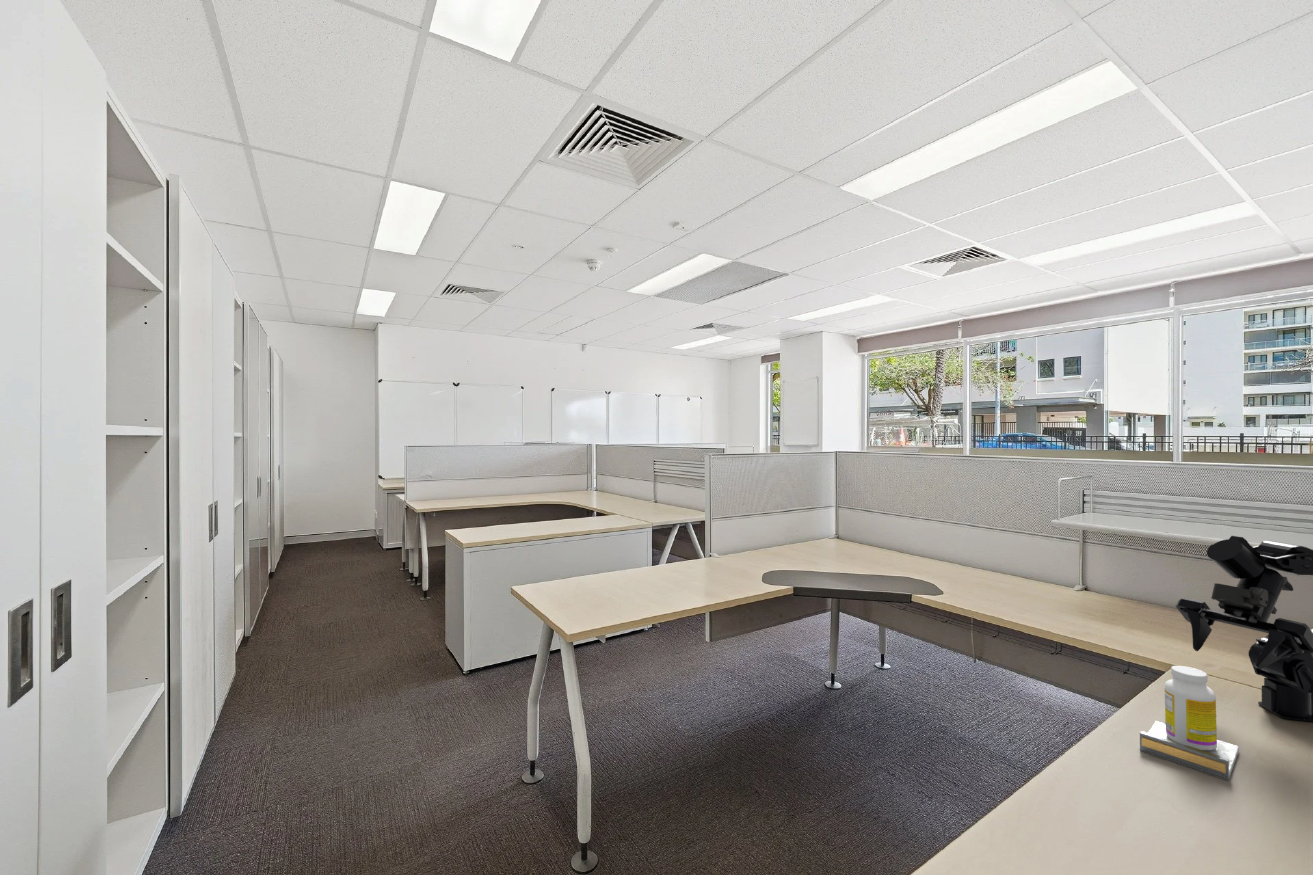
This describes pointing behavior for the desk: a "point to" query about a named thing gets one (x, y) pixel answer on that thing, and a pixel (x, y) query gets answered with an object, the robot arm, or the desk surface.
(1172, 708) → the supplement bottle
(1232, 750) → the grey metal slab
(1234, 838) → the desk surface
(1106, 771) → the desk surface
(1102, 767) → the desk surface
